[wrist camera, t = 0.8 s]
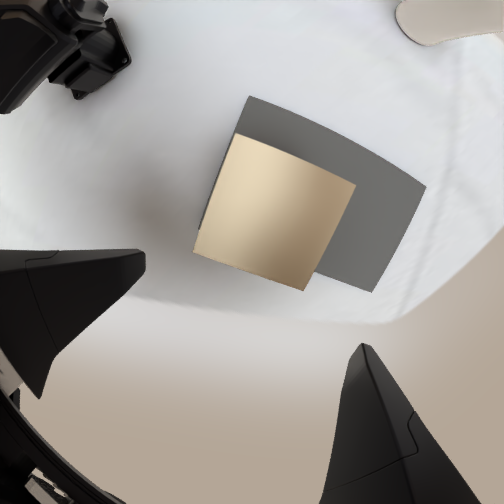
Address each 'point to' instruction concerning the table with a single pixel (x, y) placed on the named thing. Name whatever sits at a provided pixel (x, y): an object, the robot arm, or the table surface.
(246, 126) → the mat
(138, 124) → the table surface
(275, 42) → the table surface
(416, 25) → the drinking glass
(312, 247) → the block
